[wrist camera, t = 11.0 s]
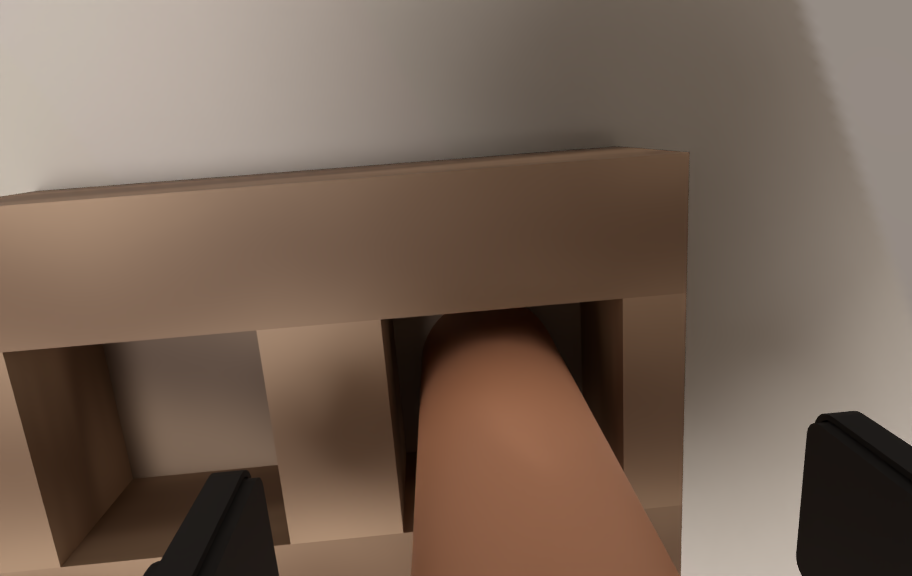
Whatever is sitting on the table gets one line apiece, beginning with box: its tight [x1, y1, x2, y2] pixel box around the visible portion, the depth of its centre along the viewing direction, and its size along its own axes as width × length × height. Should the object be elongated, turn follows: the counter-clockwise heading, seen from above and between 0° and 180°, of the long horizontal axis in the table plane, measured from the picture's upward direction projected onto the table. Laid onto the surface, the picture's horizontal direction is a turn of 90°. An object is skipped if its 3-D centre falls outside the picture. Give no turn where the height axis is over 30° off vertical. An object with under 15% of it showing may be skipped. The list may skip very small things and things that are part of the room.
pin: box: [411, 307, 680, 576], centre depth 13 cm, size 4×4×12 cm
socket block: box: [0, 146, 689, 576], centre depth 17 cm, size 12×17×5 cm
